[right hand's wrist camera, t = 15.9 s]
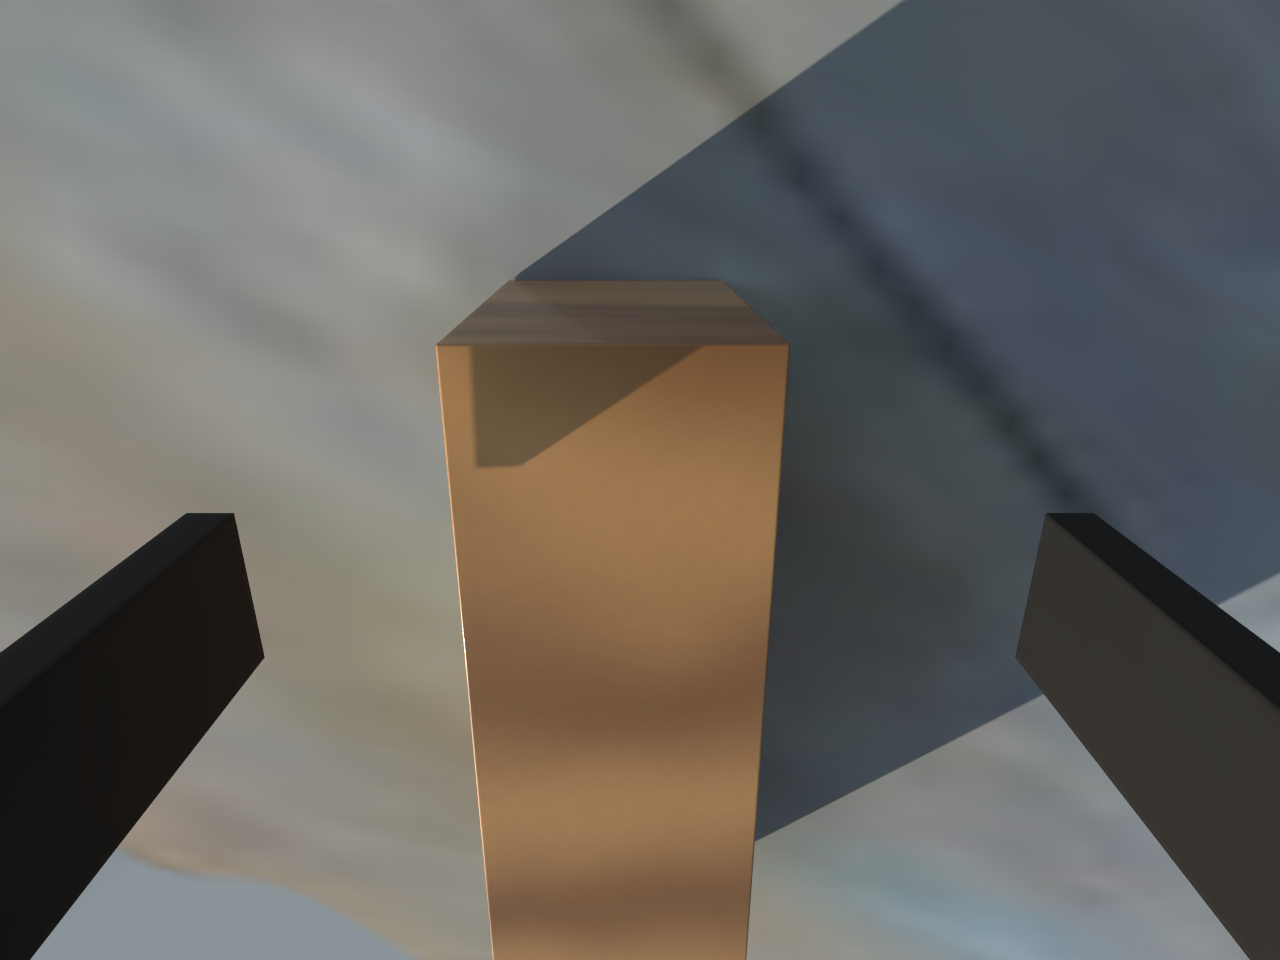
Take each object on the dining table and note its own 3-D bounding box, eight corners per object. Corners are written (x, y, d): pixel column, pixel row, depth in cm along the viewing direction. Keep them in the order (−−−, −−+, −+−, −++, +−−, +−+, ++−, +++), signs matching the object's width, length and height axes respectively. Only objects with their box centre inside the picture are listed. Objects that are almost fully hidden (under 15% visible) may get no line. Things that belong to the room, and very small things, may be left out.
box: (507, 280, 21) (434, 343, 13) (723, 280, 21) (791, 343, 13) (542, 874, 29) (511, 1156, 21) (700, 871, 29) (732, 1150, 21)
